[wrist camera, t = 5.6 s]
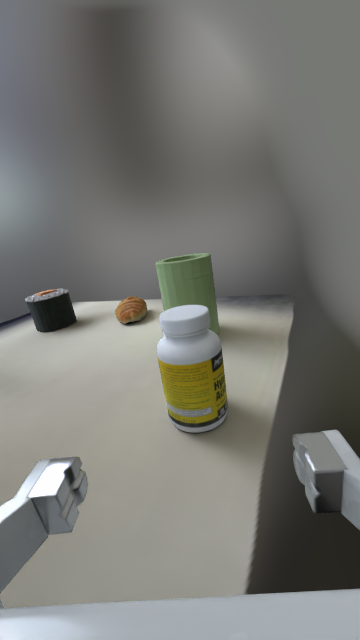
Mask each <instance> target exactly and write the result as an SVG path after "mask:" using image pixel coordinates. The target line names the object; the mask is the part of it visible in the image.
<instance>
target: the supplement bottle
mask: <svg viewBox="0 0 360 640" xmlns="http://www.w3.org/2000/svg"><path fill="white" fill-rule="evenodd" d="M159 320H160V325H161V330H162V333H163V334H164V335H165V336H164V337H163V338H161V340H160V341H159V343H158V345H157V357H158V362H159V367H160V373H161V378H162V383H163V388H164V394H165V399H166V404H167V409H168V414H169V418H170V420H171V422H172V423H173V425H175V426H176V427H177V428H178V429H180V430H183V431H186V432H193V433H197V432H204V431H208V430H211V429H213V428H215V427H217V426H218V425H220V424H221V423H222V422H223V421H224V419H225V418H226V415H227V412H228V404H227V394H226V385H225V375H224V366H223V356H222V347H221V341H220V338H219V337H218V335H217V334H216V333H215V332H213V331H211V330H209V327H210V317H209V310H208V308H207V307H205V306H202V305H184V306H178V307H174V308H171V309H168V310H166V311H164V312H162V313H161V314H160V316H159Z"/></svg>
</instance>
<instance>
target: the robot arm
mask: <svg viewBox="0 0 360 640" xmlns="http://www.w3.org/2000/svg"><path fill="white" fill-rule="evenodd" d="M293 445H294V447H295V451H294V452H293V461H294V466H295V470H296V473H297V476H298V478H299V480H300V482H301V483H303V484H304V485H305V494H306V496H307V498H308V501H309V503H310V505H311V507H312V509H313V512H314V513H333V512H342V514H343V515H344V516H345V517H346V518H347V519H348V520H349V521H350V522H351V523H353V524H354V525H355V526H356V527H357V528H358V529H359V530H360V459H359V457H358V456H357V455H356V453H355V452H354V451H353V450H352V448H351V447H350V446H349V444H348V443H347V441H346V440H345V439H344V438H343V436H342V435H341V434H340V432H339V431H337V430H329V431H322V432H312V433H303V434H294V435H293ZM81 466H82V462H81V460H80V457H67V458H54V459H44V460H40V461H38V462H37V463H36V464H35V466H34V468H33V469H32V471H31V472H30V474H29V475H28V477H27V478H26V480H25V481H24V483H23V484H22V486H21V487H20V489H19V490H18V492H17V494H16V495H15V497H14V498H13V500H8V501H7V502H6V503H4V504H3V505H2V506H0V593H1V591H2V590H3V589H4V588H5V587H6V586H7V584H8V583H9V582H10V581H11V580H12V579H13V577H14V576H15V575H16V574H17V573H18V572H19V570H20V569H21V568H22V567H23V566H24V564H25V563H26V562H27V561H28V560H29V559H30V557H31V556H32V555H33V554H34V553H35V552H36V550H37V549H38V548H39V547H40V546H41V545H42V543H43V542H44V541H45V540H46V539H47V537H48V535H51V534H60V533H69V532H72V530H73V527H74V524H75V522H76V519H77V517H78V514H79V511H78V506H79V505H80V504H81V503H82V502H83V501H84V498H85V496H86V493H87V486H88V481H87V476H86V473H85V472H84V471H83V470H81V469H80V468H81ZM0 640H360V589H345V590H327V591H311V592H310V591H309V592H291V593H273V594H254V595H236V596H217V597H198V598H179V599H161V600H142V601H124V602H106V603H88V604H69V605H51V606H33V607H15V608H5V607H4V605H3V604H2V602H1V601H0Z"/></svg>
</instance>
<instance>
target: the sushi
mask: <svg viewBox="0 0 360 640" xmlns="http://www.w3.org/2000/svg"><path fill="white" fill-rule="evenodd" d="M25 300H26V301H27V304H28V307H29V309H30V312H31V315H32V317H33V320H34V323H35V326H36V329H37V331H40V332H48V331H53V330H56V329H60V328H62V327H65V326H68V325H71V324H73V323H75V322H76V321H77V320H76V316H75V313H74V310H73V306H72V303H71V300H70V297H69V293H68V290H66V289H62V288H60V289H57V290H55V289H54V290H48V291H44V292H41V293H36V294H35V295H33V297H32V296H29V297H28V298H26V299H25Z"/></svg>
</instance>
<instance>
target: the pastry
mask: <svg viewBox="0 0 360 640" xmlns="http://www.w3.org/2000/svg"><path fill="white" fill-rule="evenodd" d="M146 307H147V305H146V302H145V301H144V300H142V299H139V298H138V297H128V298H126V299H125V300H122V301H121V303H120V304H119V305H118V307H117V309H116V313H115V314H116V317H117V318H118V320H119V321H120V322H121V323H123V324H125V323H127V322H132V321H139V320H142V318H143V317H145V315H146V311H147V308H146Z"/></svg>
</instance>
